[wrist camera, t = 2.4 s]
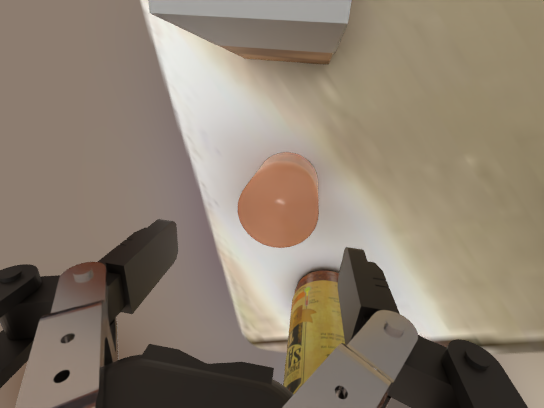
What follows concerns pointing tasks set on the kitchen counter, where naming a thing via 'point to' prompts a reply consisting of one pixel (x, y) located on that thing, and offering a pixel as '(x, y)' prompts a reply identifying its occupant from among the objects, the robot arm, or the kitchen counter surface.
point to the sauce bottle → (312, 327)
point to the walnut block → (281, 55)
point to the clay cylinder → (281, 201)
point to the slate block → (260, 22)
